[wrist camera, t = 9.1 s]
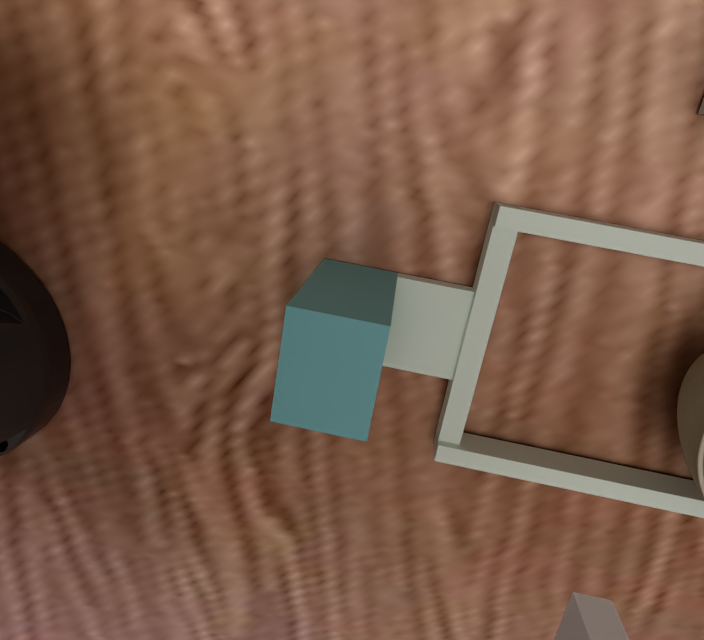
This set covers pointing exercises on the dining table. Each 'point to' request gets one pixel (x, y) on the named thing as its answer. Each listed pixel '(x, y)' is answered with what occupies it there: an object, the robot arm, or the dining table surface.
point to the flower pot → (693, 420)
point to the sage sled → (448, 354)
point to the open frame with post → (701, 108)
